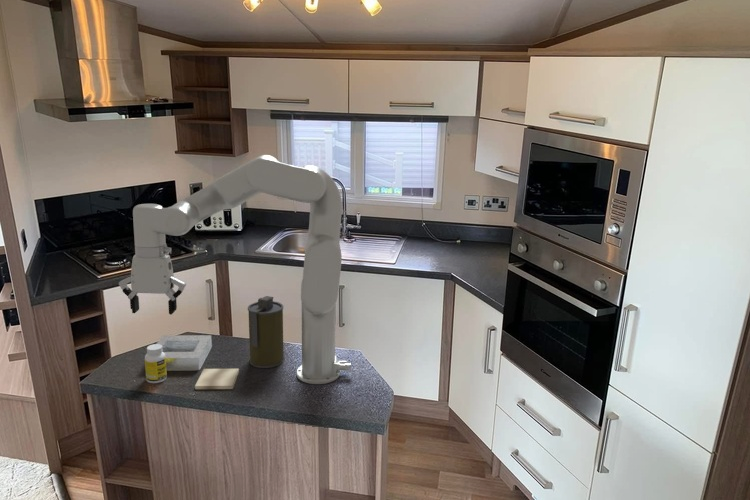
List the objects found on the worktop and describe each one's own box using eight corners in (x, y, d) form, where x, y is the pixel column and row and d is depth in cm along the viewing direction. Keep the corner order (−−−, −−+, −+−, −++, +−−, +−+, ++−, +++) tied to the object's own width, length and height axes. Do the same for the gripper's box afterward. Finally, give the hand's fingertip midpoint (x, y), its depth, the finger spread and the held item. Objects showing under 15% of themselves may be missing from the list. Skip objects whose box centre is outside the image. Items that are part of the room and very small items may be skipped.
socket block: (211, 346, 172) (211, 335, 171) (199, 370, 156) (198, 357, 155) (163, 347, 171) (162, 335, 170) (146, 370, 155) (145, 358, 154)
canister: (263, 350, 170) (261, 290, 165) (290, 357, 166) (290, 296, 161) (241, 364, 161) (238, 301, 156) (270, 372, 157) (268, 307, 152)
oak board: (239, 371, 156) (239, 368, 156) (232, 388, 147) (232, 385, 146) (203, 371, 156) (203, 368, 155) (195, 389, 146) (195, 386, 146)
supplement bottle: (160, 385, 148) (157, 352, 145) (142, 382, 149) (139, 349, 146) (171, 375, 153) (168, 343, 150) (153, 373, 154) (151, 341, 151)
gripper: (188, 248, 146) (190, 308, 150) (123, 246, 145) (126, 306, 149) (179, 256, 139) (182, 318, 143) (111, 253, 138) (115, 316, 142)
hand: (154, 312), depth 146 cm, fingers open, 9 cm apart
